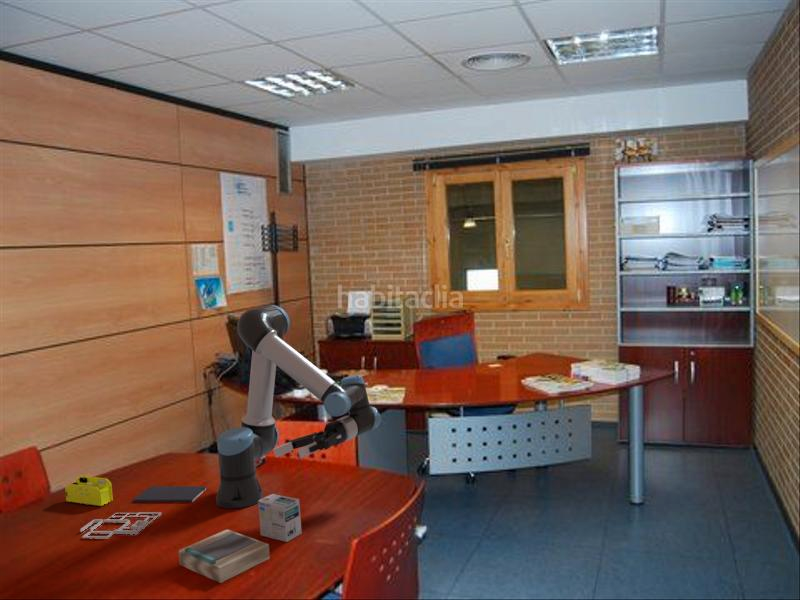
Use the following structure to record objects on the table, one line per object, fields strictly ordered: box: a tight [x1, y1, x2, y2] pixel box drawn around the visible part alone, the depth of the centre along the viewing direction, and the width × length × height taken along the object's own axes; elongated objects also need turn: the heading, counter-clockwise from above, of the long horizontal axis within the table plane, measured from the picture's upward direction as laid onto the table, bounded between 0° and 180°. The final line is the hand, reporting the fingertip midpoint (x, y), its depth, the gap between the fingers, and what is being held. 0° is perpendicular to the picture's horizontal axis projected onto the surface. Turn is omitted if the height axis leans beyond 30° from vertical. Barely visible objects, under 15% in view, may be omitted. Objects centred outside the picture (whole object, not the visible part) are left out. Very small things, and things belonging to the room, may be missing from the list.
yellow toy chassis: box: [64, 475, 114, 507], centre depth 232 cm, size 16×6×8 cm, turn 68°
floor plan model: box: [79, 511, 162, 540], centre depth 207 cm, size 19×25×2 cm
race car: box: [255, 455, 267, 469], centre depth 262 cm, size 16×7×5 cm, turn 159°
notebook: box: [132, 485, 207, 504], centre depth 235 cm, size 13×2×21 cm
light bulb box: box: [257, 493, 302, 543], centre depth 198 cm, size 11×7×11 cm, turn 58°
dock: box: [178, 529, 271, 584], centre depth 183 cm, size 18×16×5 cm
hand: (286, 453), depth 205 cm, fingers open, 13 cm apart
